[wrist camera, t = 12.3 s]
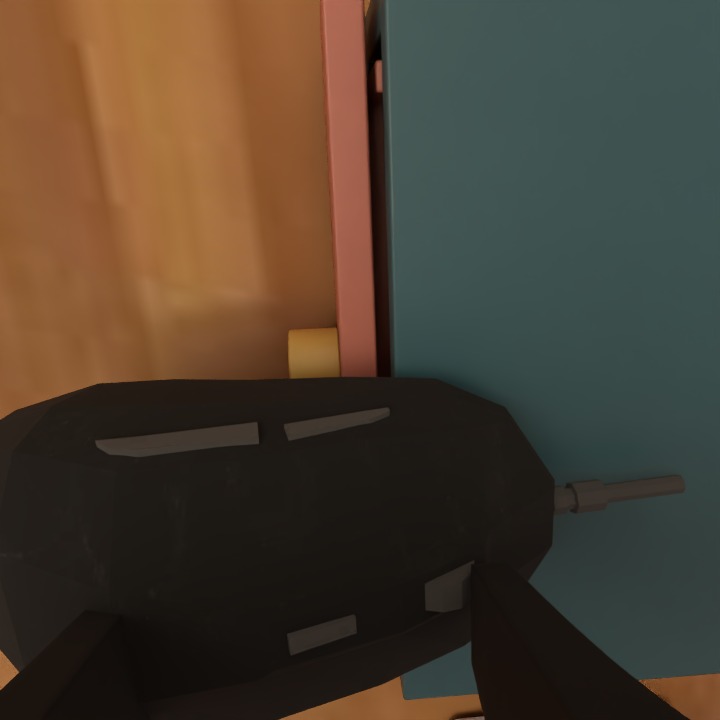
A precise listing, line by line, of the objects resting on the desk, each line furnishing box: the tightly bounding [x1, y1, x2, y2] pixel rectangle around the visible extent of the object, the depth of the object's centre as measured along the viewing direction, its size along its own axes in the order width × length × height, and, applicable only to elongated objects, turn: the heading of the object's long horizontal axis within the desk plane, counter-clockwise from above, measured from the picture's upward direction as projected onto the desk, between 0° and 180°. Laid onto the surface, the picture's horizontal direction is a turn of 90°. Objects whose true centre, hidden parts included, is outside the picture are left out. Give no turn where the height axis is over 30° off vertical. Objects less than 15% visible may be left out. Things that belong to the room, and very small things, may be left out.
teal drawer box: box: [365, 0, 720, 700], centre depth 15 cm, size 16×11×6 cm
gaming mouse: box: [0, 377, 686, 720], centre depth 11 cm, size 6×15×4 cm, turn 94°
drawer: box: [288, 0, 391, 379], centre depth 15 cm, size 16×12×3 cm
